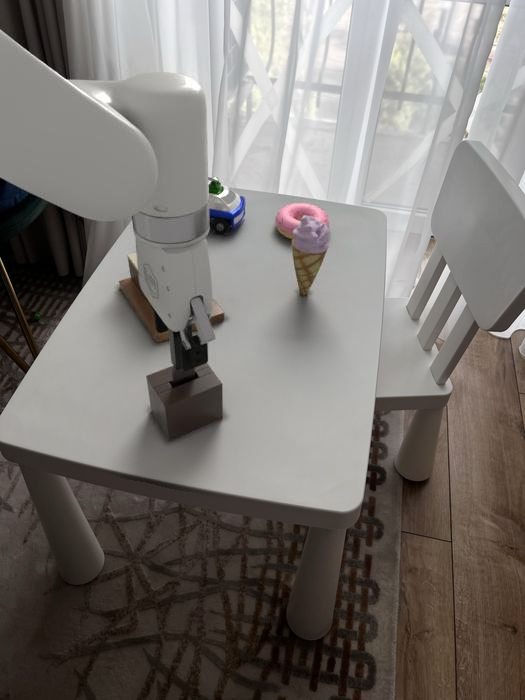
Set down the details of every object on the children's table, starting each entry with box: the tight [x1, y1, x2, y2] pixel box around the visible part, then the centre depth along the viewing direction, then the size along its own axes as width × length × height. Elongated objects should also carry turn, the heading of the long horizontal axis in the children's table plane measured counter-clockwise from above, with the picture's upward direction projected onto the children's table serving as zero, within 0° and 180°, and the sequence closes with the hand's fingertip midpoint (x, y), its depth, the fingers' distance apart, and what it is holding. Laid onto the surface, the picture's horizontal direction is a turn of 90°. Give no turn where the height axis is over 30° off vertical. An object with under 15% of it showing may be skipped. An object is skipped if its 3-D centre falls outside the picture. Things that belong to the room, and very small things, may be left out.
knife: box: [168, 315, 195, 388], centre depth 67 cm, size 3×2×18 cm, turn 121°
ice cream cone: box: [291, 215, 331, 296], centre depth 89 cm, size 7×6×15 cm
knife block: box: [145, 362, 224, 442], centre depth 71 cm, size 8×6×7 cm
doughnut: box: [274, 202, 331, 241], centre depth 108 cm, size 11×11×4 cm
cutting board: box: [118, 276, 225, 344], centre depth 90 cm, size 12×16×2 cm
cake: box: [126, 252, 148, 301], centre depth 90 cm, size 8×7×5 cm
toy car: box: [208, 176, 246, 236], centre depth 107 cm, size 9×12×10 cm
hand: (181, 345), depth 64 cm, fingers open, 6 cm apart
